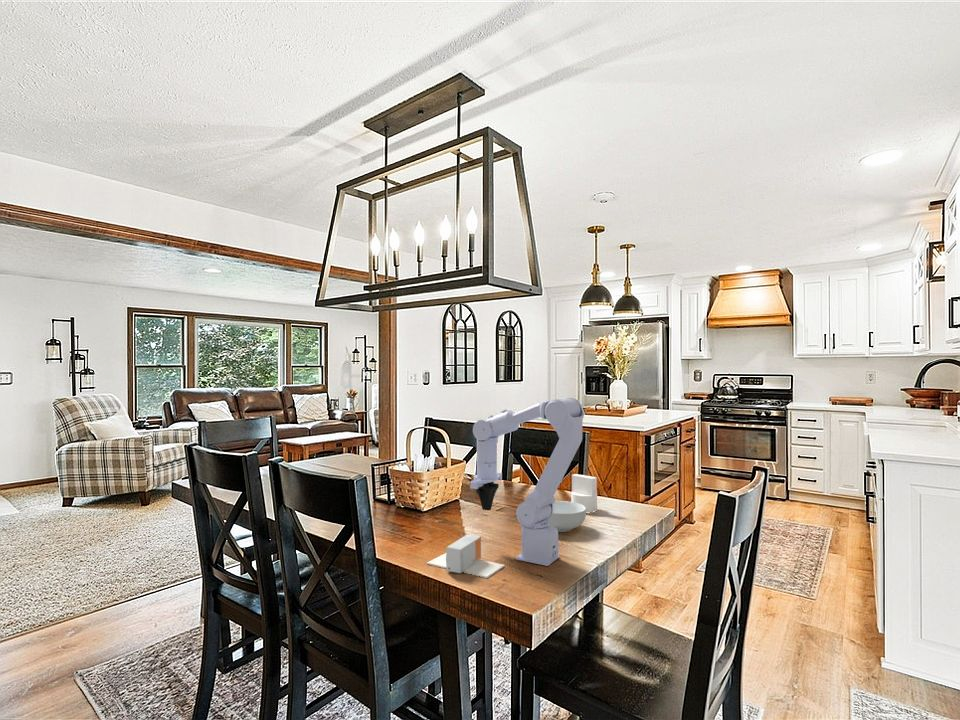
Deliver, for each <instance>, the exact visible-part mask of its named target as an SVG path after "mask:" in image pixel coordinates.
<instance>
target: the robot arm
mask: <svg viewBox="0 0 960 720" xmlns="http://www.w3.org/2000/svg"><path fill="white" fill-rule="evenodd" d="M584 417H585V411H584V409H583V407H582V404H581V402H580V401H579V400H578V399H576V398H575V397H567V398H562V399H561V398H560V399H551V400H548V401H547V400H546V401H542V402H541V401H540V402H538V403H536V404H534V405H532V406H529V407H526V408H525V409H522V410H519V411H517V412H515V411H513V410H508V409H503V410H501V413H499V414H496V415H489V416H488V419H478V420H477V421H476V422H474V423H473V426H472V434H473V436H474V438H475V439H476V475H473V480H471V481H470V485H469V486H470V489H471V490H475V491H476V493H477V496H478V498H479V500H480V504H481V505H480V506H481V509H482V510H483V511H491V510H492V507H493V503H494V502H493V501H494V498H495V496H496V493H497V491H498V489H499V485H500V484H499V483H495V482H498V481H502V479H503V472H498V460H497V459H498V449H497V448H498V441H499V437H500V436H504V435H506V434H509V433H512V432H515V431H517V430H518V429H519V427H520V425H522V424H524V423H526V422H529V421H533V420H535V419H536V420H537V419H539V418H540V419H542V420H547V421H548V423H549V424H550V425H551V428H553V430H554V431H555V432H556V434H557V437H558V441H557V443H556V444H555V447H554V449H553V451H552V453H551V455H550V457H549V459H548V461H547V463H546V465H545V467H544V469H543V471H542V473H541V475H540V476H539V479H538V481H537V484H536V485H535V487H534V489H532V490H531V492H530V493H529V494H528V495H527V496H526V497H525V499H524V501H523V502H521V503H520V504H518V506H517V508H516V513H515V515H516V518H517V521H518V522H519V524H520V527H521V552H520V554H518V555H517V556H515V558H514V559H515V560H517V561H522V562H527V563H531V564H536V565H542V566H546V567H547V566H550V565H551V564H552V563H554V562H555V561H557V560H558V559H559V558H560V554H559V532H558V531H557V529H556V528H553V527H551V526H549V518H550V517H551V516H552V513H553V505H554V502H555V501H556V498H555V494H556V492H557V490H558V488H559V486H560V485H561V482H562V480H563V479H564V476H565V474H566V473H567V471H568V469H569V467H570V466H571V462H572V461H573V459H574V457H575V455H576V453H577V452H578V449H579V447H580V445H581V443H582V442H583V419H584Z"/></svg>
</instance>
